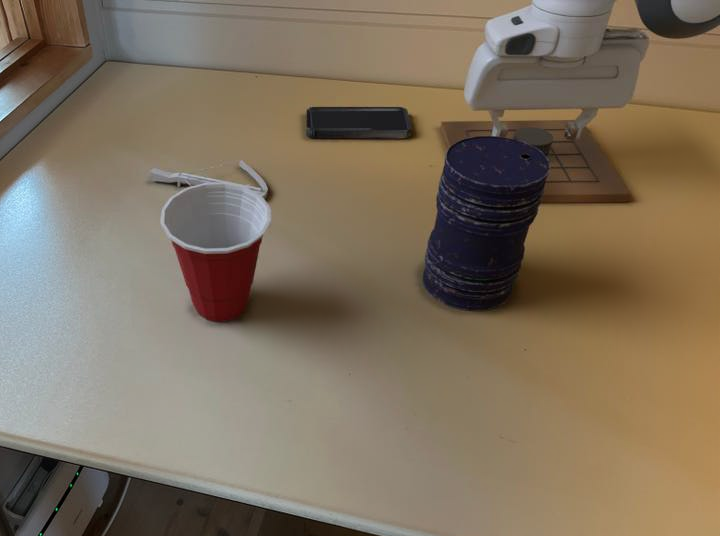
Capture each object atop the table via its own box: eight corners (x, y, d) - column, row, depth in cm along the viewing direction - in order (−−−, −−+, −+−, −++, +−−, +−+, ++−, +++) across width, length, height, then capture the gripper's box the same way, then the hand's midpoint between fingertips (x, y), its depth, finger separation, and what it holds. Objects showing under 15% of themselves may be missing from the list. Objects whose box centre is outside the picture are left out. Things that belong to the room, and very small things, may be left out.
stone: (542, 144, 97) (547, 126, 95) (552, 163, 94) (558, 144, 92) (505, 145, 97) (510, 127, 96) (514, 163, 94) (519, 145, 92)
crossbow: (278, 178, 97) (279, 164, 96) (252, 229, 89) (252, 215, 87) (169, 156, 100) (168, 143, 99) (133, 204, 91) (132, 190, 90)
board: (578, 127, 103) (581, 118, 102) (627, 202, 89) (631, 193, 88) (439, 129, 104) (441, 120, 103) (466, 203, 90) (468, 194, 89)
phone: (306, 106, 108) (406, 106, 107) (306, 113, 108) (405, 113, 107) (306, 131, 102) (412, 131, 101) (306, 138, 103) (411, 138, 102)
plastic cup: (180, 348, 72) (168, 252, 64) (164, 284, 80) (152, 190, 71) (283, 330, 74) (284, 233, 65) (258, 268, 81) (256, 175, 73)
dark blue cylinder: (439, 317, 75) (467, 192, 64) (408, 261, 81) (429, 141, 71) (529, 304, 76) (571, 180, 65) (491, 251, 82) (523, 130, 72)
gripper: (644, 18, 86) (607, 125, 96) (473, 22, 87) (453, 128, 96) (665, 37, 81) (623, 148, 91) (484, 41, 82) (462, 151, 92)
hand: (534, 138), depth 94 cm, fingers open, 8 cm apart
